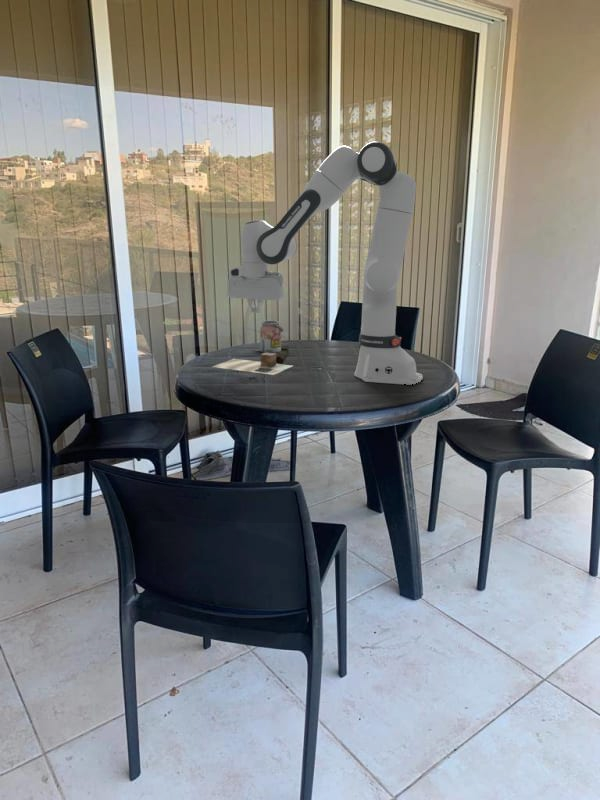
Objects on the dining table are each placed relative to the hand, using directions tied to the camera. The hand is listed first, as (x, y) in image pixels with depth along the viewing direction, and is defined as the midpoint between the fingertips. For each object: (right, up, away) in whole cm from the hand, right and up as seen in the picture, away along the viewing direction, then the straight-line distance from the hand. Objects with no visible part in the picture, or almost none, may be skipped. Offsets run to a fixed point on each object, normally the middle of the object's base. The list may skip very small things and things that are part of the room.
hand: (255, 312), depth 197 cm
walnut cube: (+4, -18, +2) cm, 19 cm away
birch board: (-1, -20, +1) cm, 20 cm away
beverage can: (+4, -11, +32) cm, 34 cm away
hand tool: (+8, -16, +16) cm, 24 cm away
